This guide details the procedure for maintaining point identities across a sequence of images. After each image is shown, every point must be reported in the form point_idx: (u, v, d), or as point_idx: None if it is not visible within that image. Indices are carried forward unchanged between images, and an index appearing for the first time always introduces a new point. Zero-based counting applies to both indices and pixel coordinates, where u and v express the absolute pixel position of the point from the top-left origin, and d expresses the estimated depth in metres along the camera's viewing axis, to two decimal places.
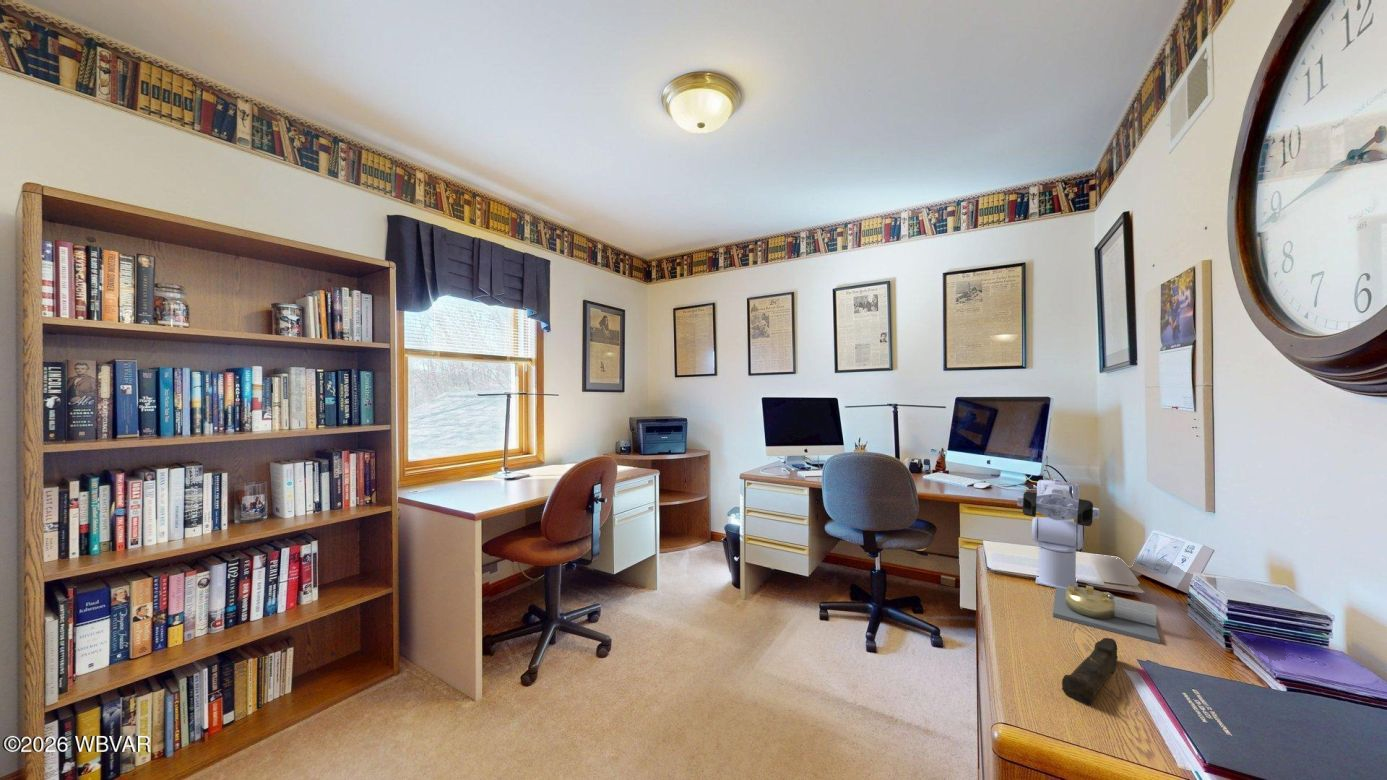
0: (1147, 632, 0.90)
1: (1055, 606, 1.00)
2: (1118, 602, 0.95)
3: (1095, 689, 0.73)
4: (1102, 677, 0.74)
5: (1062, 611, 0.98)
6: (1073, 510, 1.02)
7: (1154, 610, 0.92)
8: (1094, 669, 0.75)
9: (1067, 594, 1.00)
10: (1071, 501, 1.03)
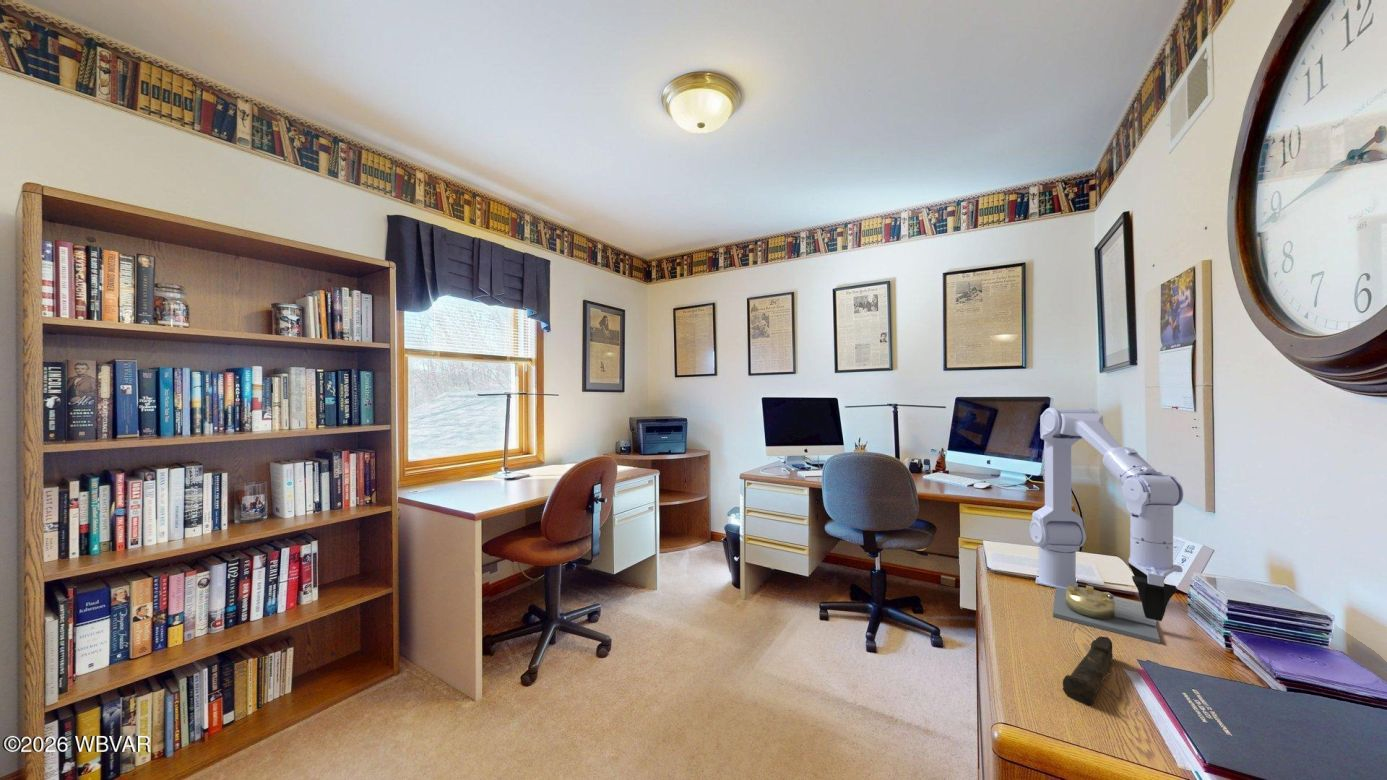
0: (1147, 632, 0.90)
1: (1055, 606, 1.00)
2: (1118, 602, 0.95)
3: (1095, 689, 0.73)
4: (1101, 676, 0.74)
5: (1062, 611, 0.98)
6: None
7: None
8: (1093, 669, 0.75)
9: (1067, 594, 1.00)
10: None
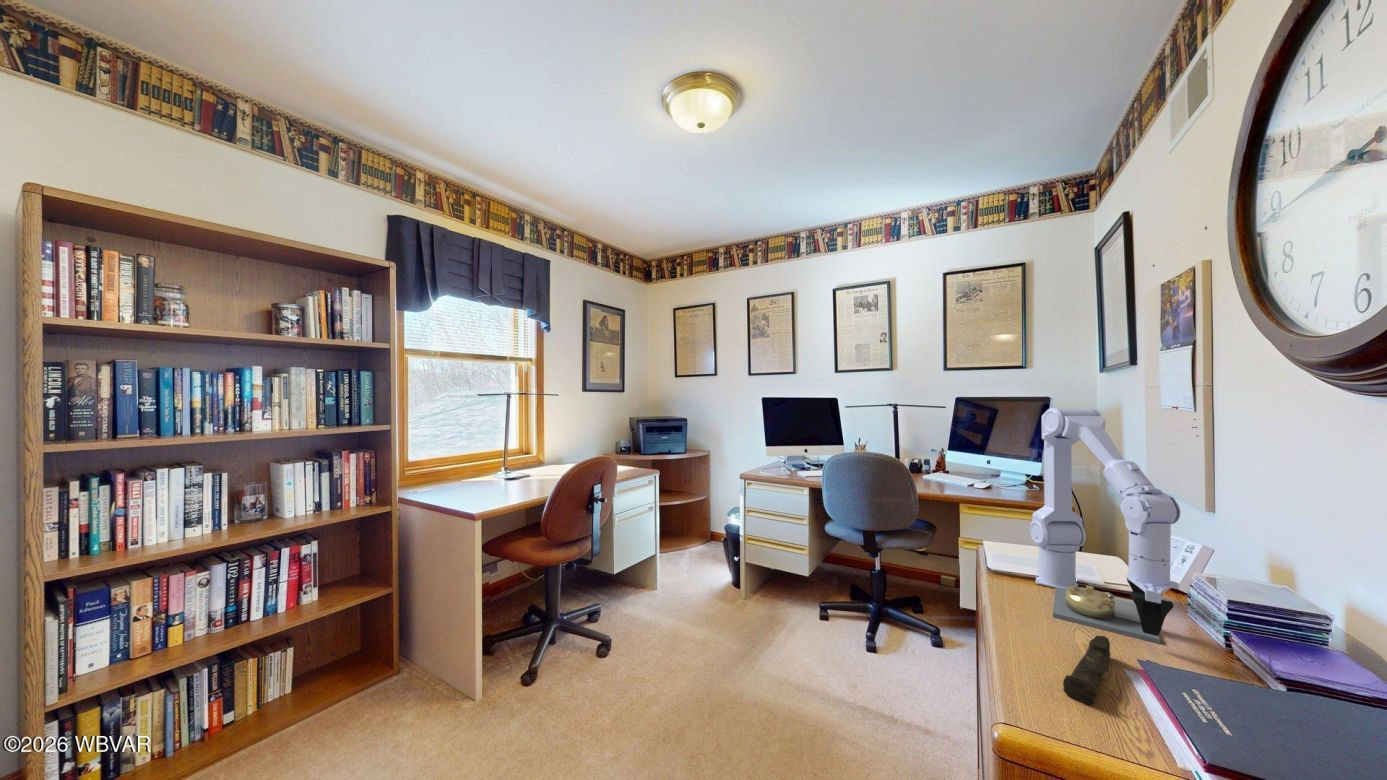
0: None
1: (1055, 606, 1.00)
2: (1118, 602, 0.95)
3: (1095, 689, 0.73)
4: (1101, 676, 0.74)
5: (1062, 611, 0.98)
6: None
7: None
8: (1093, 668, 0.75)
9: (1067, 594, 1.00)
10: None
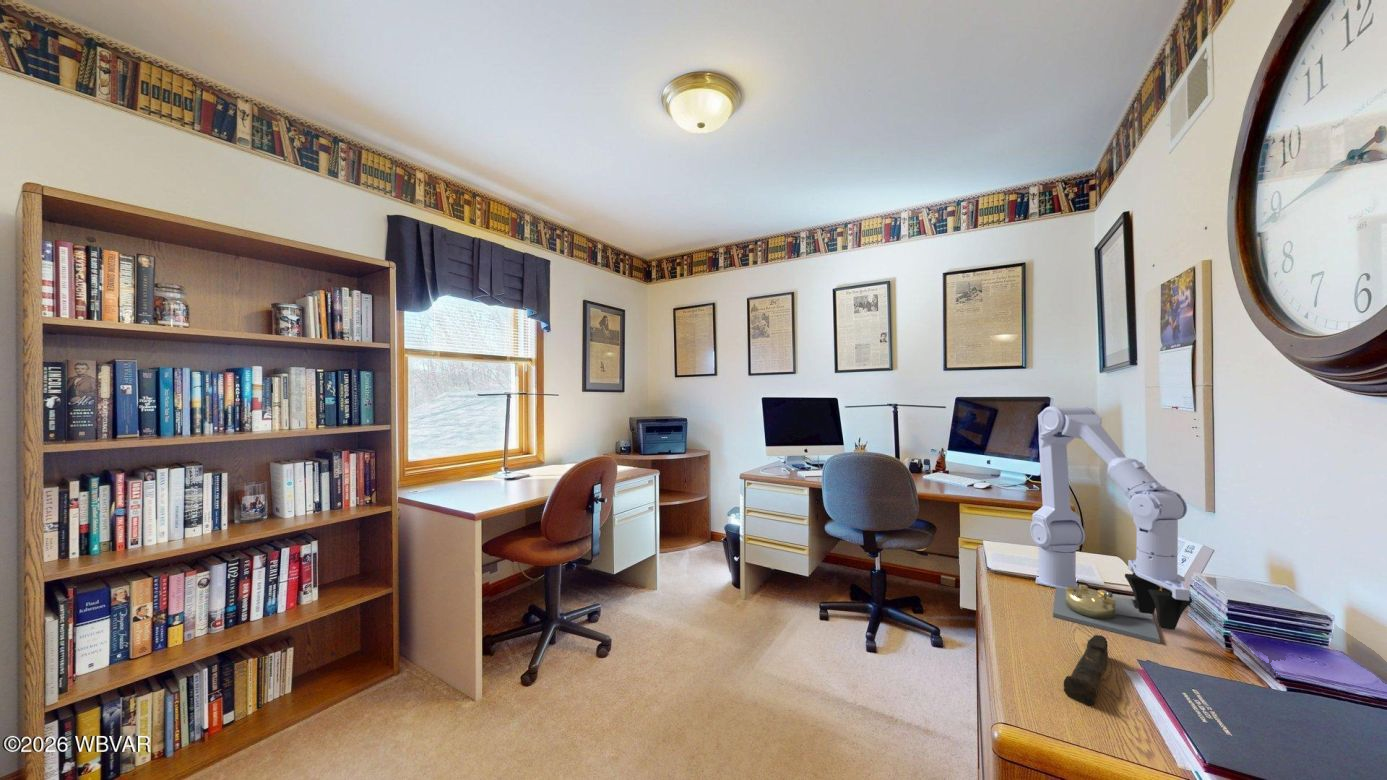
0: (1147, 632, 0.90)
1: (1055, 606, 1.00)
2: (1118, 599, 0.96)
3: (1095, 689, 0.73)
4: (1100, 676, 0.74)
5: (1062, 611, 0.98)
6: None
7: None
8: (1092, 668, 0.75)
9: (1071, 597, 0.98)
10: None
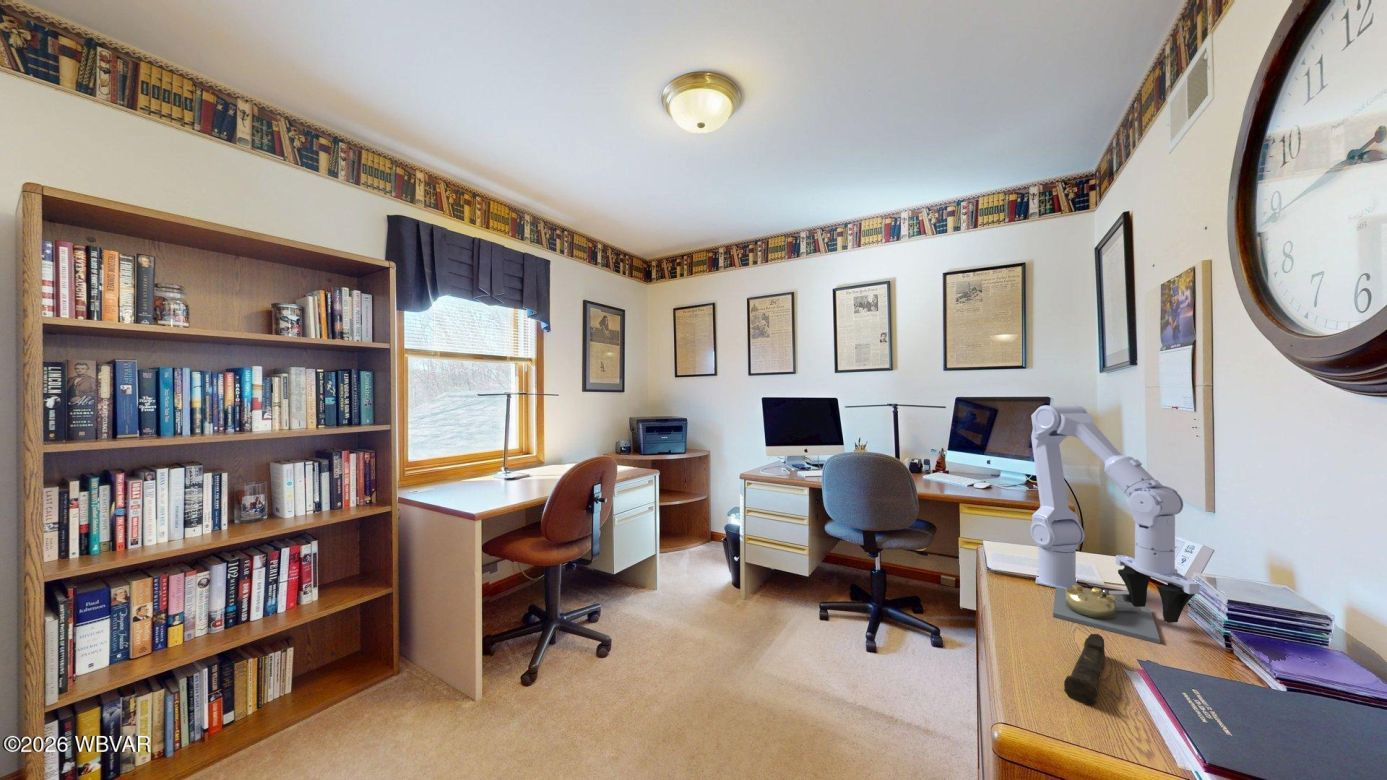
0: (1147, 632, 0.90)
1: (1055, 606, 1.00)
2: (1114, 596, 0.97)
3: (1095, 688, 0.73)
4: (1099, 675, 0.74)
5: (1062, 611, 0.98)
6: (1139, 571, 0.96)
7: None
8: (1092, 668, 0.75)
9: (1077, 600, 0.97)
10: None
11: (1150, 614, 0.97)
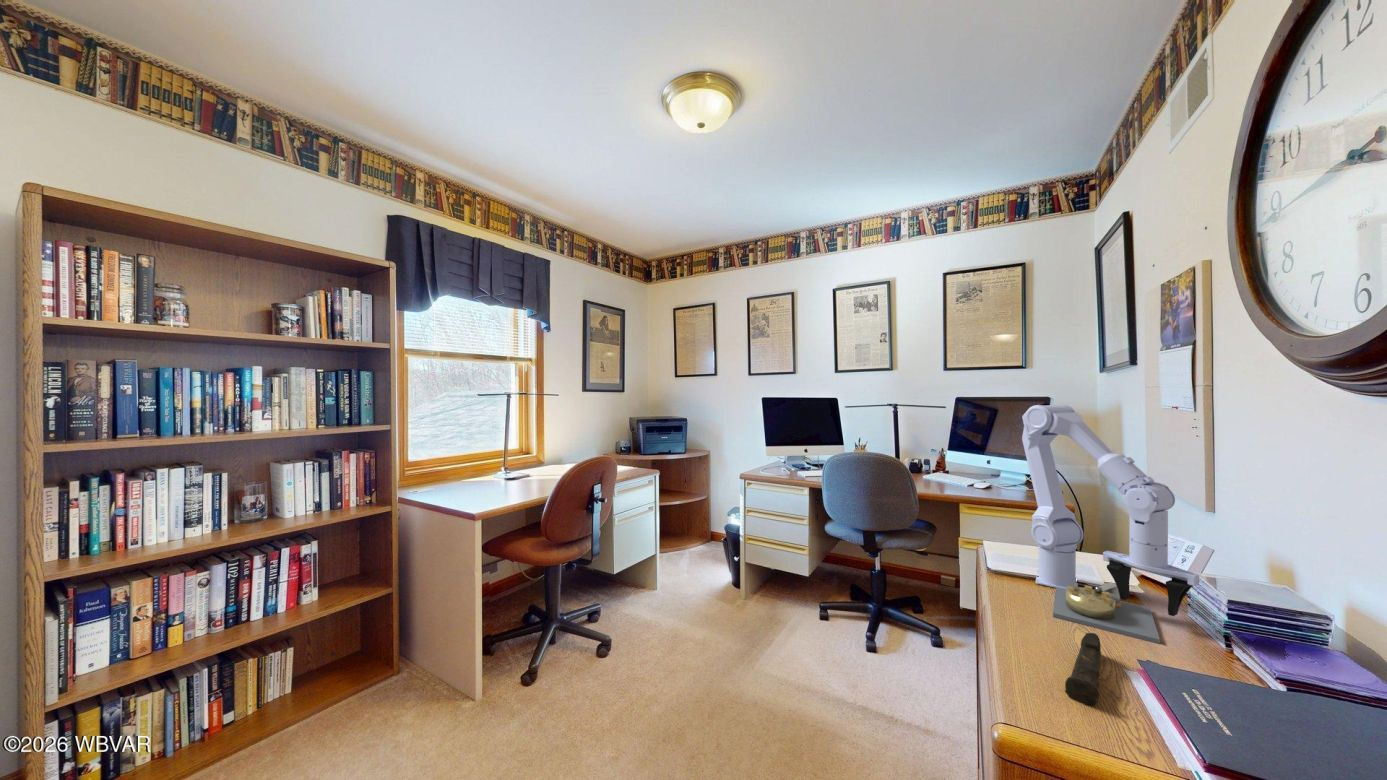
0: (1147, 632, 0.90)
1: (1055, 606, 1.00)
2: (1106, 592, 0.99)
3: None
4: (1099, 675, 0.74)
5: (1062, 611, 0.98)
6: None
7: None
8: (1091, 668, 0.75)
9: (1088, 603, 0.96)
10: None
11: (1150, 614, 0.97)
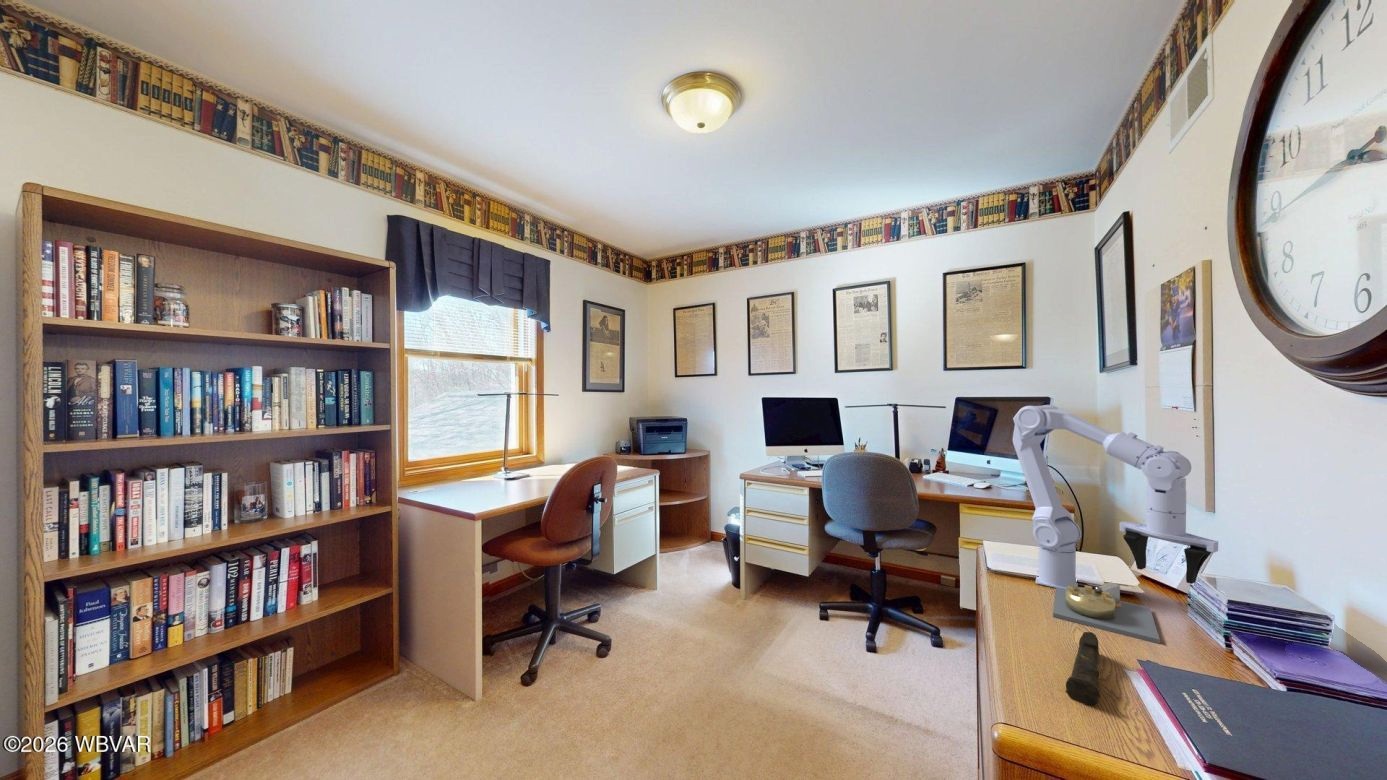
0: (1147, 632, 0.90)
1: (1055, 606, 1.00)
2: (1105, 592, 0.99)
3: None
4: (1098, 675, 0.74)
5: (1062, 611, 0.98)
6: (1147, 535, 0.98)
7: (1119, 587, 1.02)
8: (1091, 667, 0.75)
9: (1088, 603, 0.96)
10: None
11: (1150, 614, 0.97)
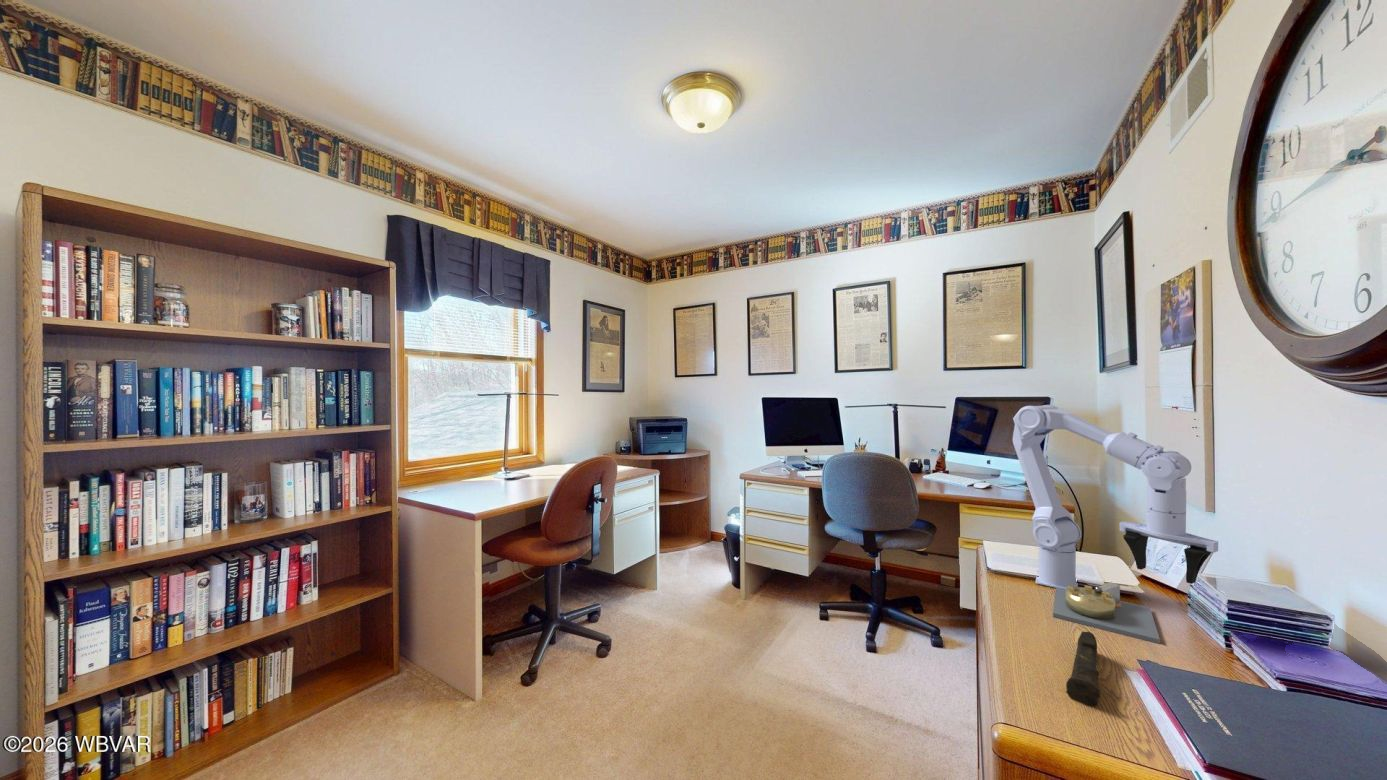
0: (1147, 632, 0.90)
1: (1055, 606, 1.00)
2: (1105, 592, 0.99)
3: None
4: (1098, 675, 0.74)
5: (1062, 611, 0.98)
6: (1147, 535, 0.98)
7: (1119, 587, 1.02)
8: (1090, 667, 0.75)
9: (1088, 603, 0.96)
10: None
11: (1150, 614, 0.97)
